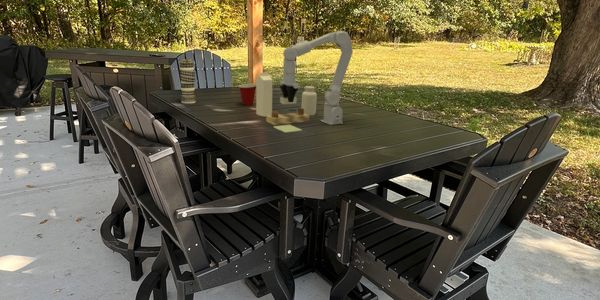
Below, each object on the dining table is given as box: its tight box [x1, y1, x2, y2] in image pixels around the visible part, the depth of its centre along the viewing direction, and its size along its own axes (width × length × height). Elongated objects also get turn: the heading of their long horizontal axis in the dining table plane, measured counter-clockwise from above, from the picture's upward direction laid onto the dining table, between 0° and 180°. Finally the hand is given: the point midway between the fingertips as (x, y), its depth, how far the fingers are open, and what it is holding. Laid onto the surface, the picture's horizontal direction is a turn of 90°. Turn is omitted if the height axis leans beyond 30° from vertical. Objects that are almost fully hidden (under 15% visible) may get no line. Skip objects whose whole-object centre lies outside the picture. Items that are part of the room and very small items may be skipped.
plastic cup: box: [238, 83, 256, 107], centre depth 229 cm, size 11×11×12 cm
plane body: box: [265, 107, 310, 126], centre depth 192 cm, size 20×8×6 cm, turn 122°
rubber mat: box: [273, 124, 303, 134], centre depth 178 cm, size 11×9×1 cm
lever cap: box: [279, 96, 298, 105], centre depth 190 cm, size 7×4×3 cm, turn 122°
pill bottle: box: [300, 85, 318, 117], centre depth 208 cm, size 8×8×15 cm
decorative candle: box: [178, 58, 197, 104], centre depth 228 cm, size 9×9×25 cm
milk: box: [255, 72, 273, 117], centre depth 202 cm, size 6×6×22 cm
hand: (288, 101), depth 190 cm, fingers closed on lever cap, 4 cm apart
